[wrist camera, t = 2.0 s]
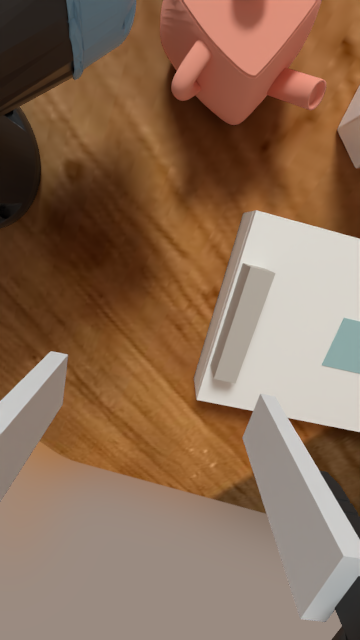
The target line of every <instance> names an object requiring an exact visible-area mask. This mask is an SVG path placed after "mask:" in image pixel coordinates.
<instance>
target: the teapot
mask: <svg viewBox="0 0 360 640" xmlns="http://www.w3.org/2000/svg"><path fill="white" fill-rule="evenodd" d="M321 1H322V0H163V4H162V10H161V21H160V37H161V43H162V46H163V48H164V51H165V53H166V55H167V57H168V58H169V60H170V62H171V63H172V65H173V66H174V68H175V69H176V71H177V72H176V74H175V76H174V78H173V81H172V86H171V89H172V93H173V95H174V96H175V97H176V98H177V99H178V100H181V101H185V100H188V99H190V98H192V97H193V96H196V97H197V98H198V99H199V100H200V101H201V102H202V103H203V104H204V105H205V106H206V107H208V108H209V109H210V110H211V111H212V112H213V113H214V114H216V115H217V116H218V117H219V118H220V119H222V120H223V121H225V122H226V123H228V124H230V125H237V124H240V123H241V122H243V121H244V120H245V119H246V118H247V117H248V116H249V115H250V114H251V113H252V112H253V111H254V110H255V109H256V107H257V106H258V105H259V104H260V103H261V102H262V101H263V100H264V98H265V97H266V96H267V95H268V96H271V97H274V98H277V99H280V100H282V101H285V102H288V103H291V104H294V105H297V106H300V107H303V108H306V109H308V110H313V109H315V108H316V107H317V106H318V105H319V103H320V102H321V100H322V98H323V96H324V93H325V90H326V81H325V80H323V79H320V78H317V77H314V76H310V75H307V74H304V73H301V72H298V71H295V70H292V69H288V68H289V66H290V65H291V63H292V62H293V60H294V59H295V57H296V56H297V55H298V53H299V52H300V50H301V48H302V46H303V45H304V43H305V41H306V39H307V37H308V35H309V33H310V31H311V29H312V26H313V24H314V21H315V19H316V16H317V13H318V10H319V7H320V4H321Z"/></svg>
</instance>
